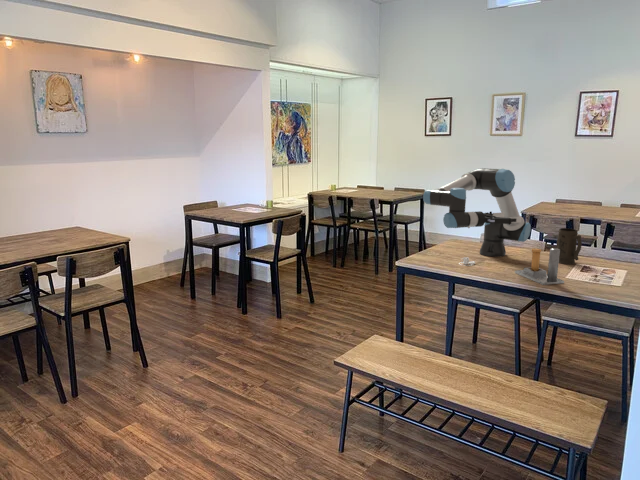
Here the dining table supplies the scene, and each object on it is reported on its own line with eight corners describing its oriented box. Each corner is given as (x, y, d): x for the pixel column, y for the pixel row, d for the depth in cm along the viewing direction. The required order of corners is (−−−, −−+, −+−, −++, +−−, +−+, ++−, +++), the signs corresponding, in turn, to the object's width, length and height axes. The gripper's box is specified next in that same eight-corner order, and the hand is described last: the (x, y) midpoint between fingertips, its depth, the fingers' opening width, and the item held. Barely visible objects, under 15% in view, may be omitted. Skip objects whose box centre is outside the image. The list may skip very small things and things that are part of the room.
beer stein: (549, 260, 273) (554, 228, 268) (561, 258, 278) (566, 226, 272) (572, 268, 260) (579, 234, 255) (584, 266, 265) (591, 232, 260)
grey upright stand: (514, 272, 248) (517, 241, 244) (534, 271, 251) (537, 240, 247) (543, 285, 226) (547, 250, 223) (565, 283, 229) (568, 249, 225)
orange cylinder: (528, 272, 243) (530, 248, 240) (535, 272, 244) (537, 248, 241) (533, 275, 239) (535, 250, 236) (541, 274, 240) (543, 250, 237)
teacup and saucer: (476, 264, 266) (476, 257, 266) (472, 267, 260) (473, 260, 259) (460, 262, 271) (461, 255, 270) (456, 265, 264) (457, 258, 263)
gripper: (460, 222, 243) (496, 220, 248) (488, 231, 220) (527, 229, 225) (461, 208, 242) (497, 206, 247) (489, 215, 218) (529, 213, 223)
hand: (512, 217), depth 236 cm, fingers open, 13 cm apart
